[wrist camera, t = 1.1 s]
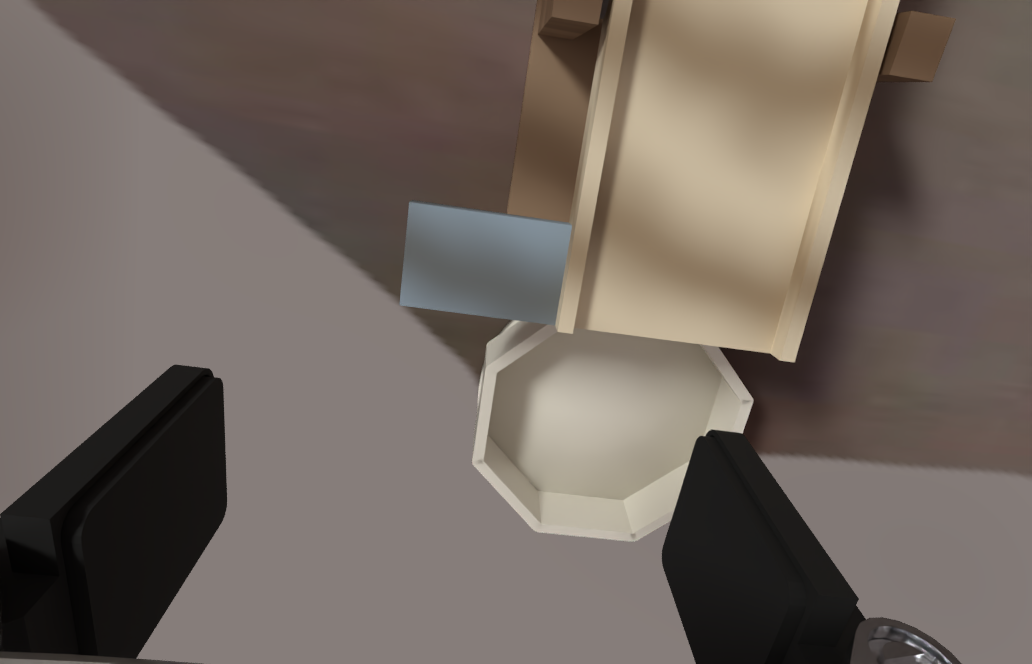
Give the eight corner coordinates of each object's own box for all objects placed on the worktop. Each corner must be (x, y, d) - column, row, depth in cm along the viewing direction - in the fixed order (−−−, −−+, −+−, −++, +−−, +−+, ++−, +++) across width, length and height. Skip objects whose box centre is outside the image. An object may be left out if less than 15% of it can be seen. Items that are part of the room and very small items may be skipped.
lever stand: (579, -298, 24) (622, -501, 16) (910, -227, 25) (1114, -381, 17) (500, 259, 33) (500, 319, 24) (748, 293, 34) (830, 362, 25)
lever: (472, -320, 21) (466, -479, 16) (895, -229, 23) (1021, -348, 17) (412, 283, 27) (393, 315, 22) (748, 328, 29) (808, 369, 23)
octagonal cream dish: (495, 264, 33) (495, 287, 29) (750, 299, 34) (781, 325, 30) (465, 482, 38) (461, 525, 34) (685, 506, 39) (704, 550, 35)
